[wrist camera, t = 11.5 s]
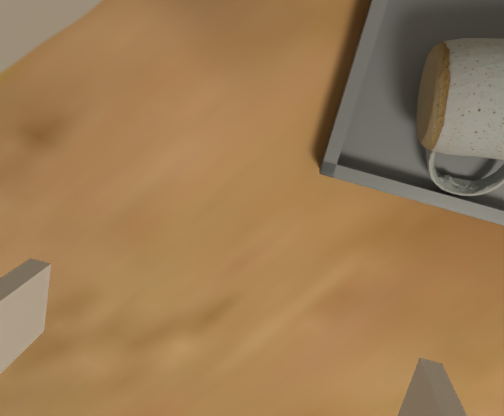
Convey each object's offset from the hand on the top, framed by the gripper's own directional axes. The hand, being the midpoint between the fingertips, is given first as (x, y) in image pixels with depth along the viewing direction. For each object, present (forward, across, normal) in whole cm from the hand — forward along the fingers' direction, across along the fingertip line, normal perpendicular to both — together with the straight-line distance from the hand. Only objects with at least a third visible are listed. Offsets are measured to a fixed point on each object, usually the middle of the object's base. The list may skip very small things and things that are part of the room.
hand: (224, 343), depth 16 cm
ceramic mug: (+22, +13, +9) cm, 27 cm away
